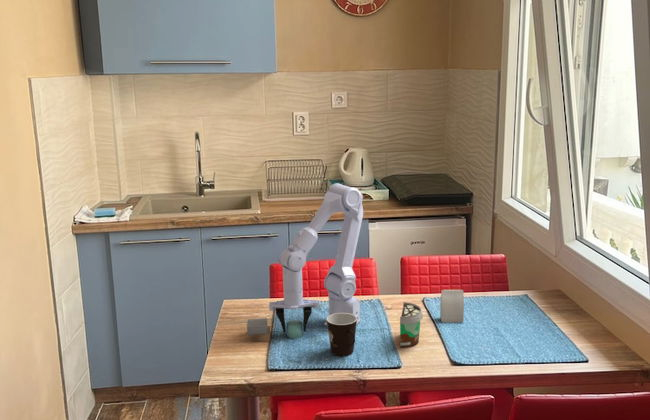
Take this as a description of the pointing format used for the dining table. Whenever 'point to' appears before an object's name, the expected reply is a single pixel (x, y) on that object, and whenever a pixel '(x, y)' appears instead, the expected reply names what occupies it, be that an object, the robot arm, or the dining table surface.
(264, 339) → the base block
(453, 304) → the grey rectangular block
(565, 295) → the dining table surface
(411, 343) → the food container
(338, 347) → the coffee mug
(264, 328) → the top block
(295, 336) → the green rounded cylinder
